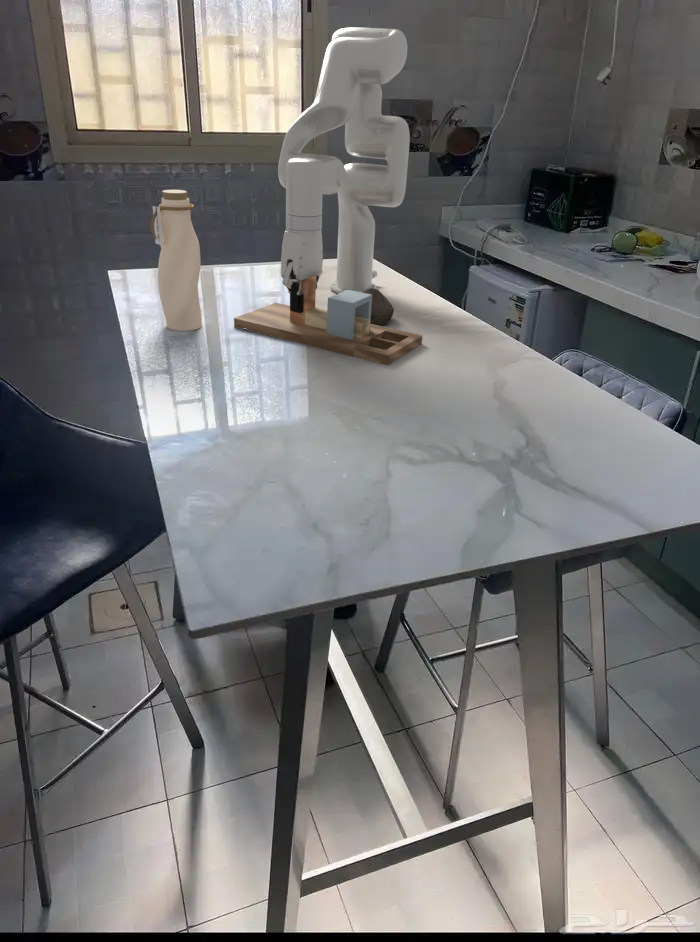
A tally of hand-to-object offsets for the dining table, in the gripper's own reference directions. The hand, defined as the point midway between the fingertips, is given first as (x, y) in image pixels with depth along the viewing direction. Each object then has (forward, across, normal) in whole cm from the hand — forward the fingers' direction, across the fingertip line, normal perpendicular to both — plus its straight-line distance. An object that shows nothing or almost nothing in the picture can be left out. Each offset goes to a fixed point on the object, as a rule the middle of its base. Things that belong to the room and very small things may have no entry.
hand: (302, 308), depth 152 cm
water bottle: (+5, +15, -22) cm, 27 cm away
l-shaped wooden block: (+3, 0, +7) cm, 8 cm away
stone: (+5, -16, +9) cm, 20 cm away
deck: (+5, 0, +6) cm, 8 cm away
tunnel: (+3, 0, +12) cm, 12 cm away
